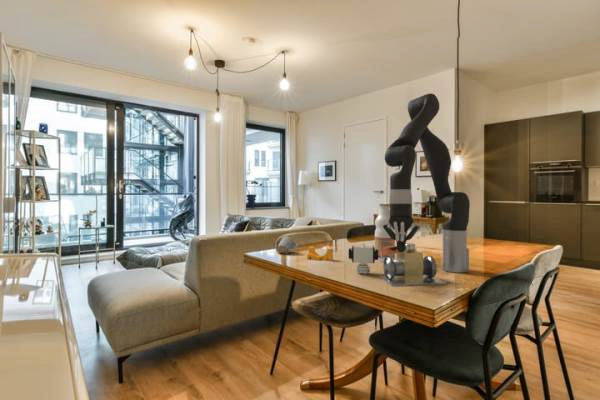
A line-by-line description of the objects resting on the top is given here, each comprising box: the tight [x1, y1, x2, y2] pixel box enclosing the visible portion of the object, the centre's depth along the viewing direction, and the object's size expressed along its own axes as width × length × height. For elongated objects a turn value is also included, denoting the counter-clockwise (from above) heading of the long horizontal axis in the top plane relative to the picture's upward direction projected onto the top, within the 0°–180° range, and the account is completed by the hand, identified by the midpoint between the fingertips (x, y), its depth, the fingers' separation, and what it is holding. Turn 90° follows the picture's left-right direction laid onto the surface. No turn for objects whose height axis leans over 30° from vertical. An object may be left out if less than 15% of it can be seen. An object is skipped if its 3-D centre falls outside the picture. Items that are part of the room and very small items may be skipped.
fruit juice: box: [374, 203, 396, 264], centre depth 153 cm, size 9×9×28 cm
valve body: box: [378, 249, 448, 287], centre depth 117 cm, size 20×13×11 cm, turn 97°
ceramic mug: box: [276, 236, 299, 254], centre depth 170 cm, size 11×8×8 cm
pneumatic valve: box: [348, 243, 378, 275], centre depth 129 cm, size 6×12×12 cm, turn 79°
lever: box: [382, 242, 416, 255], centre depth 115 cm, size 4×16×2 cm, turn 127°
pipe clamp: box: [306, 246, 334, 262], centre depth 155 cm, size 12×4×6 cm, turn 64°
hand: (401, 251), depth 111 cm, fingers closed
